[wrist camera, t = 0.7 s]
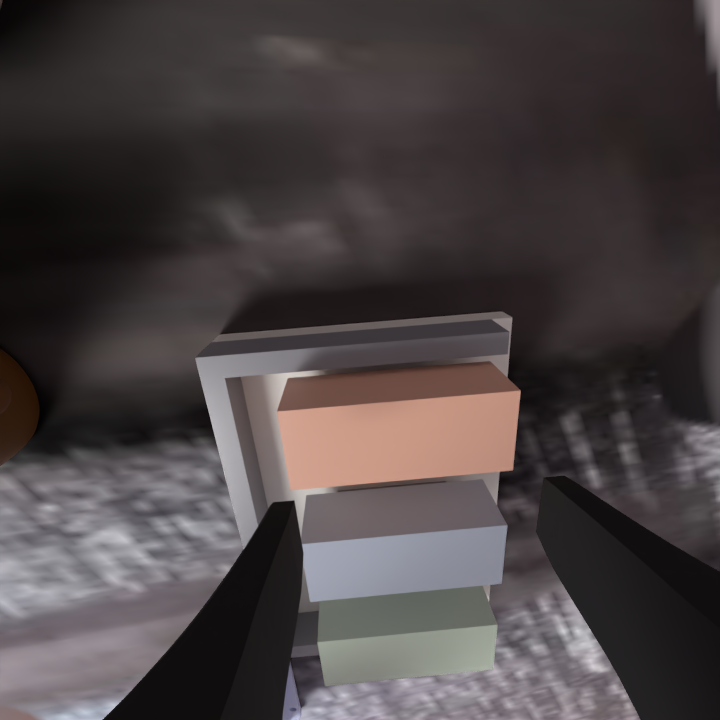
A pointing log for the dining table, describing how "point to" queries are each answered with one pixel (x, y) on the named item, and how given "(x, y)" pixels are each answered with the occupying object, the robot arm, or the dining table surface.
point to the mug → (15, 408)
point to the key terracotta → (398, 424)
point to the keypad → (312, 358)
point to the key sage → (406, 635)
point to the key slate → (402, 540)
